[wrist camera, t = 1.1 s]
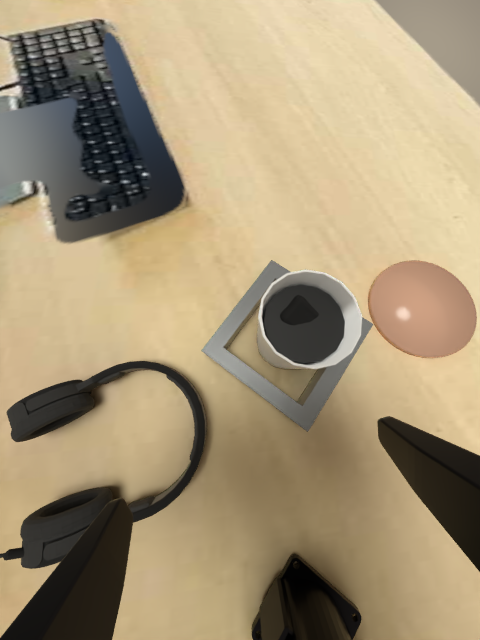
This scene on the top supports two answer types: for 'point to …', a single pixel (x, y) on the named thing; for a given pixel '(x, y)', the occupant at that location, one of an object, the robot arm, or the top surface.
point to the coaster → (422, 309)
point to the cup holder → (296, 411)
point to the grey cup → (307, 321)
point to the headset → (83, 507)
